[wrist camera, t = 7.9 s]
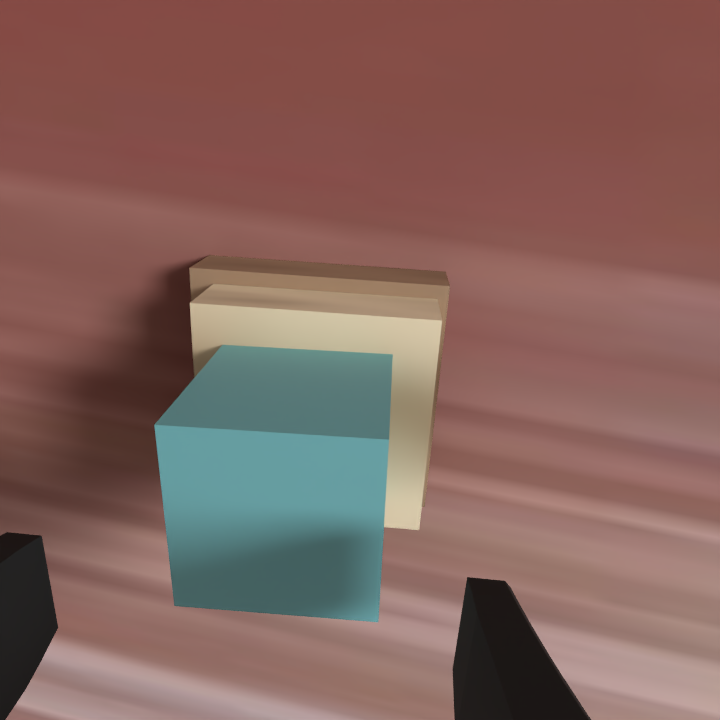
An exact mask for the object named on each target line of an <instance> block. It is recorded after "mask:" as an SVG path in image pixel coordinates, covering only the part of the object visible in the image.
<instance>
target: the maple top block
mask: <svg viewBox="0 0 720 720" xmlns="http://www.w3.org/2000/svg"><path fill="white" fill-rule="evenodd" d="M190 316H191V333H192V349H193V365H194V378H195V377H196V375H197V374H198V373H199V372H200V371H201V370H202V368H203V367H204V366H205V365H206V364H207V363H208V361H209V360H210V359H211V358H212V357H213V355H214V354H215V353H216V352H217V351H218V350H219V348H220V347H221V346H222V345H236V346H254V347H271V348H289V349H307V350H325V351H343V352H361V353H379V354H393V360H392V384H391V407H390V431H389V450H388V467H387V484H386V500H385V517H384V527H390V528H402V529H413V530H419V526H420V517H421V508H422V498H423V489H424V480H425V471H426V462H427V453H428V444H429V435H430V426H431V417H432V408H433V399H434V390H435V381H436V371H437V362H438V353H439V344H440V335H441V326H442V318H441V313H440V308H439V304H438V299H428V298H413V297H398V296H384V295H369V294H354V293H340V292H325V291H310V290H296V289H281V288H266V287H252V286H237V285H222V284H213V285H211V286H210V287H209V288H208V289H206V290H205V291H204V292H203V293H201V294H200V295H199V296H198V297H196V298H195V299H194V300H193V301H192V302H190Z"/></svg>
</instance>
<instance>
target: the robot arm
mask: <svg viewBox="0 0 720 720" xmlns="http://www.w3.org/2000/svg"><path fill="white" fill-rule="evenodd" d="M57 629H58V624H57V619H56V613H55V608H54V602H53V597H52V591H51V586H50V580H49V574H48V569H47V563H46V558H45V552H44V547H43V541H42V536H39V535H29V534H19V533H8V532H7V533H5V534H3V535H1V536H0V720H5V719H6V718H7V716H8V715H9V713H10V712H11V710H12V709H13V707H14V706H15V704H16V703H17V701H18V700H19V698H20V697H21V695H22V694H23V692H24V691H25V689H26V687H27V686H28V684H29V682H30V680H31V678H32V677H33V675H34V673H35V671H36V669H37V667H38V666H39V664H40V662H41V660H42V658H43V656H44V654H45V652H46V650H47V648H48V646H49V644H50V642H51V640H52V638H53V636H54V634H55V633H56V631H57ZM453 688H454V713H455V720H591V719H590V717H589V716H588V715H587V713H586V712H585V710H584V708H583V707H582V705H581V704H580V702H579V701H578V699H577V698H576V696H575V695H574V693H573V692H572V690H571V689H570V687H569V686H568V684H567V683H566V681H565V679H564V678H563V676H562V675H561V673H560V672H559V670H558V669H557V667H556V665H555V664H554V662H553V661H552V659H551V657H550V656H549V654H548V652H547V651H546V649H545V647H544V646H543V644H542V642H541V641H540V639H539V637H538V636H537V634H536V632H535V631H534V629H533V627H532V625H531V624H530V622H529V620H528V618H527V617H526V615H525V613H524V611H523V610H522V608H521V606H520V604H519V602H518V601H517V599H516V597H515V595H514V593H513V591H512V589H511V587H510V586H509V585H508V584H507V583H506V582H505V581H500V580H489V579H479V578H469V577H467V583H466V589H465V595H464V602H463V608H462V614H461V621H460V627H459V633H458V639H457V646H456V652H455V658H454V665H453Z"/></svg>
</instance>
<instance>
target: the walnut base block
mask: <svg viewBox="0 0 720 720" xmlns="http://www.w3.org/2000/svg"><path fill="white" fill-rule="evenodd" d="M189 271H190V289H191V302H192V301H193V300H194V299H195V298H196V297H198V296H199V295H200V294H201V293H203V292H204V291H205V290H206V289H208V288H209V287H210V286H211V285H213V284H222V285H237V286H252V287H266V288H281V289H296V290H310V291H325V292H340V293H354V294H369V295H384V296H398V297H413V298H428V299H438V304H439V308H440V313H441V318H442V326H441V335H440V344H439V353H438V362H437V371H436V381H435V390H434V399H433V408H432V417H431V426H430V435H429V444H428V453H427V462H426V471H425V480H424V489H423V498H422V507H424V506H425V498H426V489H427V480H428V472H429V463H430V454H431V446H432V437H433V428H434V420H435V411H436V402H437V394H438V385H439V376H440V368H441V359H442V350H443V342H444V333H445V324H446V316H447V307H448V298H449V290H450V285H449V282H448V278H447V275H446V272H441V271H427V270H413V269H399V268H385V267H370V266H356V265H342V264H328V263H313V262H299V261H285V260H271V259H256V258H242V257H228V256H214V255H209V256H207V257H206V258H204V259H203V260H201V261H199V262H198V263H196V264H195V265H193V266H191V267H190V268H189Z"/></svg>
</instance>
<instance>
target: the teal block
mask: <svg viewBox="0 0 720 720" xmlns="http://www.w3.org/2000/svg"><path fill="white" fill-rule="evenodd" d="M392 360H393V354H379V353H361V352H343V351H325V350H307V349H289V348H271V347H254V346H236V345H222V346H221V347H220V348H219V350H218V351H217V352H216V353H215V354H214V355H213V357H212V358H211V359H210V360H209V361H208V363H207V364H206V365H205V366H204V367H203V368H202V370H201V371H200V372H199V373H198V374H197V375H196V377H195V378H194V379H193V380H192V381H191V382H190V384H189V385H188V386H187V387H186V388H185V389H184V391H183V392H182V393H181V394H180V395H179V397H178V398H177V399H176V400H175V401H174V402H173V404H172V405H171V406H170V407H169V408H168V409H167V411H166V412H165V413H164V414H163V415H162V416H161V418H160V419H159V420H158V421H157V422H156V423H155V425H154V426H155V435H156V444H157V453H158V462H159V471H160V480H161V489H162V498H163V507H164V516H165V525H166V534H167V543H168V552H169V561H170V570H171V579H172V588H173V597H174V606H182V607H195V608H207V609H220V610H232V611H245V612H257V613H270V614H282V615H295V616H308V617H320V618H333V619H345V620H358V621H370V622H378V618H379V601H380V584H381V567H382V551H383V534H384V517H385V500H386V484H387V467H388V450H389V431H390V407H391V384H392Z"/></svg>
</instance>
